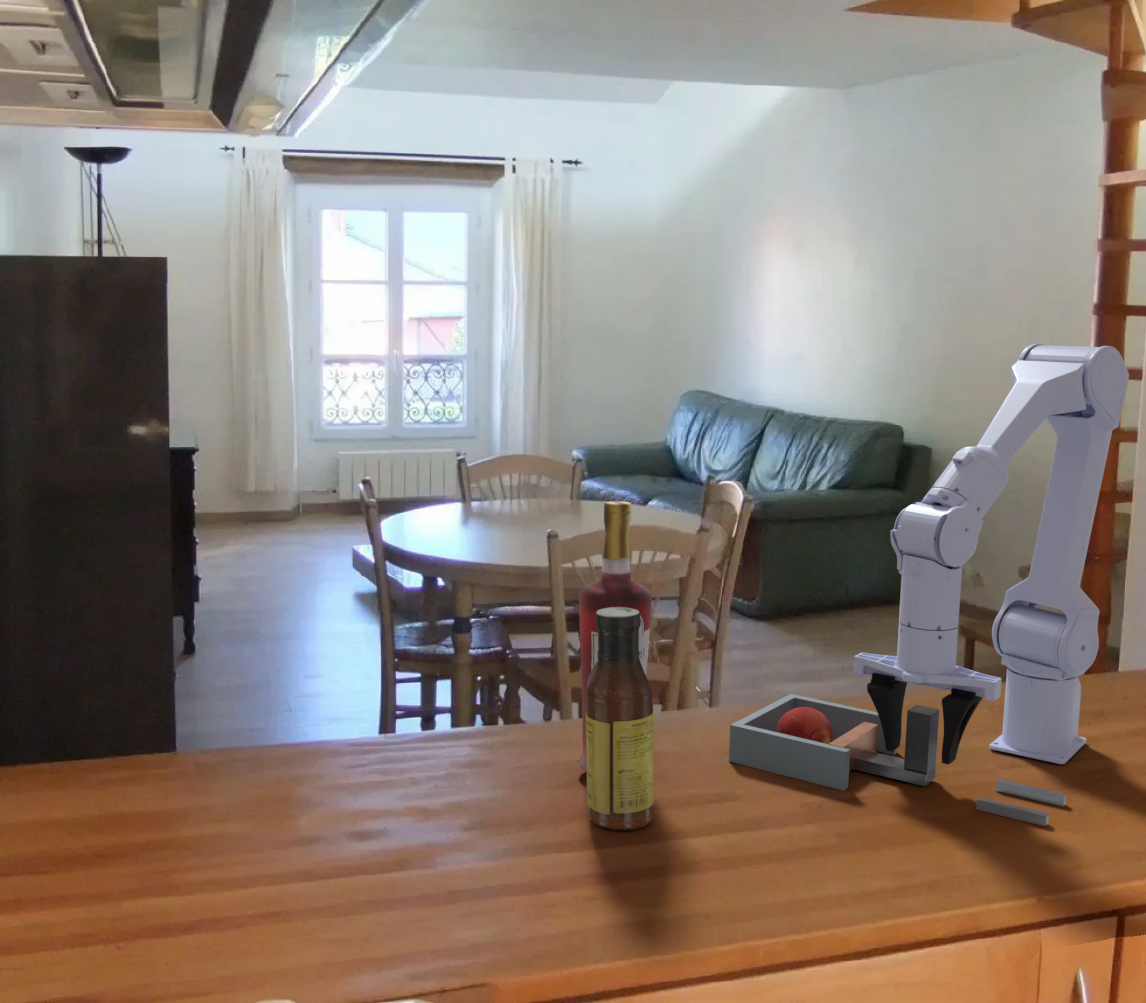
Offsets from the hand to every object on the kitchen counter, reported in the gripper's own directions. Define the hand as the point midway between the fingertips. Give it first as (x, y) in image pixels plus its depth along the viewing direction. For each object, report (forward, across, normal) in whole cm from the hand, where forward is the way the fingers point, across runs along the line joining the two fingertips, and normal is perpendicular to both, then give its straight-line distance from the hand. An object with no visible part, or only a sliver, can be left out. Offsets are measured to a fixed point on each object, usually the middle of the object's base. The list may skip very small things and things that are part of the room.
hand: (920, 754), depth 125 cm
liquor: (+3, -26, -18) cm, 31 cm away
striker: (+3, -3, 0) cm, 4 cm away
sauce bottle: (+3, -18, -27) cm, 33 cm away
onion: (0, -8, -4) cm, 9 cm away
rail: (+3, +10, 0) cm, 11 cm away
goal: (+3, -11, 0) cm, 11 cm away
